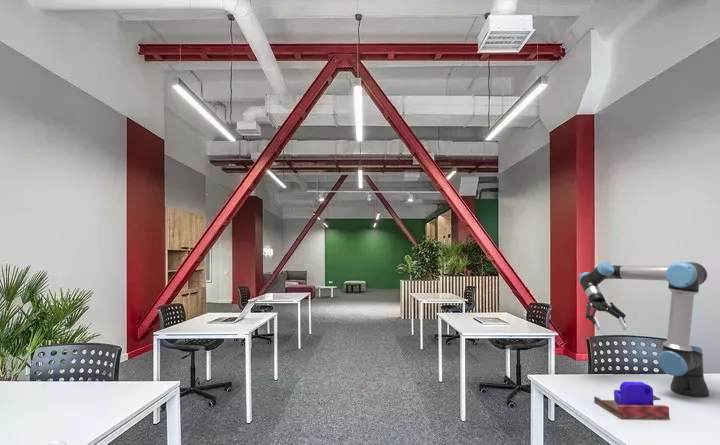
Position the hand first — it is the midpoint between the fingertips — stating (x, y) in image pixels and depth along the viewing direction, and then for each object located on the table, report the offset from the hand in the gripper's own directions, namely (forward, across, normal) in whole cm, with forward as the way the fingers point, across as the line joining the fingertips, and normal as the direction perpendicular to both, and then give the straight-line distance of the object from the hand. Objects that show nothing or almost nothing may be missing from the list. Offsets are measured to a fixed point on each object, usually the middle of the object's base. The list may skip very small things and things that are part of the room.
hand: (612, 328), depth 219 cm
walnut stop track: (+43, +12, +1) cm, 45 cm away
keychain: (+27, -7, -16) cm, 32 cm away
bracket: (+41, +11, 0) cm, 43 cm away
